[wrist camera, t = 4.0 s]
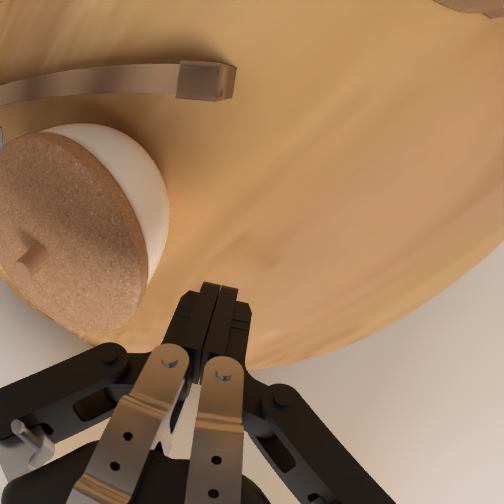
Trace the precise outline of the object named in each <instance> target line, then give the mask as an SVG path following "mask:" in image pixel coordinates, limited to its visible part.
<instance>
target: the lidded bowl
mask: <svg viewBox="0 0 504 504" xmlns="http://www.w3.org/2000/svg"><path fill="white" fill-rule="evenodd" d="M169 219H170V211H169V199H168V194H167V190H166V186H165V183H164V181H163V178H162V175H161V173H160V171H159V169H158V168H157V166H156V164H155V162H154V161H153V159H152V158H151V157H150V155H149V154H148V153H147V151H146V150H145V149H144V148H143V147H142V146H141V145H140V144H139V143H138V142H136V141H135V140H134V139H132V138H131V137H129V136H128V135H126V134H124V133H122V132H120V131H118V130H116V129H114V128H111V127H107V126H104V125H100V124H87V123H75V124H67V125H61V126H56V127H52V128H49V129H45V130H42V131H40V132H35V133H30V134H26V135H23V136H20V137H18V138H15V139H14V140H12V141H10V142H8V143H6V144H5V145H4V146H3V147H2V148H1V149H0V263H1V265H2V267H3V269H4V270H5V272H6V273H7V275H8V276H9V278H10V279H11V280H12V282H13V283H14V284H15V286H16V287H17V288H18V289H19V290H20V292H21V293H22V294H23V295H24V296H25V297H26V298H27V299H28V300H29V301H30V302H31V303H32V304H34V305H35V306H36V307H37V308H38V309H39V310H41V311H42V312H44V313H45V314H46V315H48V316H49V317H51V318H53V319H54V320H56V321H58V322H59V323H62V324H64V325H66V326H68V327H71V328H74V329H77V330H80V331H86V332H100V333H102V332H106V331H111V330H114V329H117V328H119V327H121V326H123V325H124V324H125V323H126V322H128V321H129V320H130V319H131V317H132V316H133V314H134V313H135V312H136V310H137V308H138V307H139V305H140V303H141V301H142V298H143V296H144V293H145V291H146V288H147V286H148V285H149V283H150V281H151V279H152V277H153V275H154V274H155V271H156V269H157V267H158V264H159V262H160V259H161V257H162V254H163V252H164V248H165V244H166V240H167V235H168V231H169Z"/></svg>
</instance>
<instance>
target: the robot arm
mask: <svg viewBox="0 0 504 504" xmlns="http://www.w3.org/2000/svg"><path fill="white" fill-rule="evenodd" d="M435 1H437V2H439V3H440V4H442V5H444V6H446V7H448V8H451V9H454V10H457V11H459V12H466V13H483V14H485V15H487V16H488V17H490V18H491V19H492V18H499V17H504V0H435ZM220 287H221V290H220ZM237 294H238V289H237V288H232V287H227V286H223V285H222V286H221V285H218V284H213V283H209V282H203V284H202V287H201V290H200V292H199V293H198V292H194V291H190V290H189V291H188V292H187V293H186V294H184V295H183V296H182V297H181V299H180V301H179V303H178V306H177V308H176V310H175V313H174V315H173V317H172V320H171V322H170V325H169V327H168V329H167V332H166V334H165V337H164V339H163V341H162V343H161V345H159V346H157V347H156V348H155V349H154V350H153V351H151V352H148V353H127V351H126V350H125V349H124V348H123V347H122V346H121V345H119V344H117V343H112V342H108V343H103V344H100V345H98V346H96V347H94V348H92V349H90V350H87V351H85V352H83V353H80V354H79V355H76V356H74V357H72V358H69V359H67V360H65V361H62V362H60V363H58V364H55V365H53V366H51V367H49V368H46V369H44V370H42V371H40V372H37V373H35V374H33V375H30V376H28V377H26V378H23V379H21V380H19V381H16V382H14V383H11V384H9V385H7V386H5V387H2V388H0V464H1V467H2V469H3V471H4V474H5V476H6V478H7V480H8V484H7V485H6V487H5V488H4V490H3V493H2V499H1V504H271V503H270V502H269V500H268V499H267V498H266V496H265V495H264V493H263V492H262V491H261V489H260V488H259V487H258V486H257V485H256V484H255V483H254V482H253V481H251V480H250V479H249V478H247V477H246V476H244V475H242V461H243V439H244V431H246V432H248V434H249V436H250V438H251V439H252V441H253V442H254V443H255V445H256V446H257V448H258V449H259V450H260V452H261V453H262V455H263V456H264V457H265V459H266V460H267V461H268V463H269V464H270V465H271V467H272V468H273V469H274V471H275V472H276V473H277V474H278V476H279V477H280V478H281V480H282V481H283V482H284V483H285V485H286V486H287V487H288V489H289V490H290V491H291V492H292V493H293V495H294V496H295V497H296V498H297V500H298V501H299V502H300V503H301V504H396V503H395V502H394V501H393V500H392V499H391V497H390V496H389V495H388V494H387V493H386V492H385V491H384V490H383V489H382V488H381V487H380V486H379V485H378V484H377V483H376V482H375V481H374V480H373V478H372V477H371V476H369V474H368V473H367V472H366V471H365V470H364V469H363V468H362V467H361V466H360V464H359V463H358V462H357V461H356V460H355V459H354V458H353V457H352V455H351V454H350V453H349V452H348V451H347V450H346V449H345V448H344V446H343V445H342V444H341V443H340V442H339V441H338V439H337V438H336V437H335V436H334V435H333V434H332V433H331V431H330V430H329V429H328V428H327V427H326V426H325V424H324V423H323V422H322V421H321V420H320V418H319V417H318V416H317V415H316V414H315V413H314V412H313V410H312V409H311V408H310V406H309V405H308V404H307V403H306V402H305V400H304V399H303V398H302V397H301V396H300V394H299V393H298V392H297V391H296V390H295V389H294V388H293V387H291V386H289V385H286V384H273V385H270V386H267V385H265V384H263V383H261V382H259V381H257V380H256V379H254V378H253V377H252V376H251V375H250V374H249V373H248V371H247V370H246V367H245V356H246V349H247V343H248V336H249V329H250V322H251V315H252V312H251V309H250V307H249V304H248V303H244V302H239V301H236V298H237ZM200 374H201V375H200ZM199 378H200V385H201V391H200V398H199V404H198V411H197V417H196V422H195V429H194V435H193V443H192V449H191V457H190V460H187V459H171V458H169V457H168V456H169V453H170V450H171V446H172V441H173V437H174V434H175V431H176V428H177V426H178V423H179V420H180V418H181V415H182V412H183V410H184V407H185V404H186V402H187V398H188V395H189V392H190V388H191V385H192V383H195V384H198V382H199ZM109 417H111V418H110V420H109V422H108V424H107V426H106V428H105V430H104V432H103V434H102V436H101V438H100V440H97V441H93V442H90V443H87V444H85V445H83V446H81V447H79V448H78V449H76V450H74V451H72V452H70V453H68V454H66V455H64V456H62V457H60V458H58V459H56V460H54V461H52V462H50V463H48V464H46V465H44V463H45V462H47V461H48V460H50V459H51V458H52V456H53V455H54V451H55V443H58V442H60V441H62V440H64V439H66V438H69V437H71V436H73V435H75V434H77V433H79V432H81V431H83V430H85V429H87V428H89V427H91V426H94V425H95V424H98V423H100V422H102V421H103V420H105V419H107V418H109ZM43 465H44V466H43Z"/></svg>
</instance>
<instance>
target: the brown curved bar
mask: <svg viewBox="0 0 504 504" xmlns="http://www.w3.org/2000/svg"><path fill="white" fill-rule="evenodd" d="M236 70H237V68H235V67H232V66H229V65H226V64H223V63H217V62H204V61H184V60H180V64H129V65H112V66H100V67H91V68H82V69H75V70H68V71H61V72H55V73H50V74H45V75H40V76H35V77H30V78H26V79H22V80H18V81H14V82H10V83H5V84H1V85H0V105H5V104H10V103H16V102H22V101H28V100H34V99H42V98H50V97H59V96H70V95H83V94H103V93H156V94H176V98H179V99H191V100H202V101H212V102H216V101H220V100H224V99H229V98H232V94H233V88H234V82H235V76H236Z"/></svg>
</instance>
